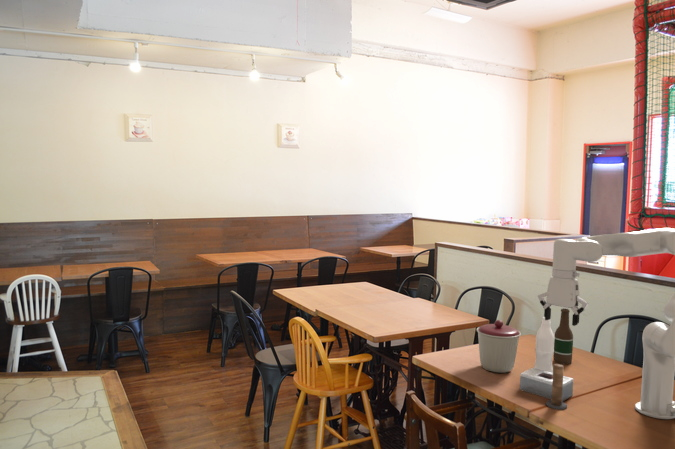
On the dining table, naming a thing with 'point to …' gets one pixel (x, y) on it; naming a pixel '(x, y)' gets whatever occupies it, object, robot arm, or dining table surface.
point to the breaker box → (543, 383)
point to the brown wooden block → (557, 384)
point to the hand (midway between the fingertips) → (561, 322)
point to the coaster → (562, 407)
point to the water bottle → (544, 347)
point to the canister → (498, 346)
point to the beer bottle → (563, 340)
